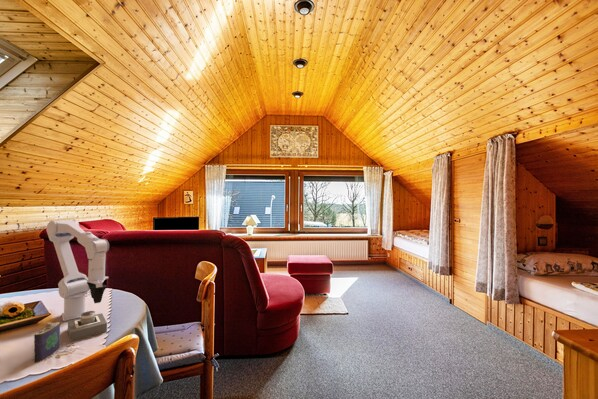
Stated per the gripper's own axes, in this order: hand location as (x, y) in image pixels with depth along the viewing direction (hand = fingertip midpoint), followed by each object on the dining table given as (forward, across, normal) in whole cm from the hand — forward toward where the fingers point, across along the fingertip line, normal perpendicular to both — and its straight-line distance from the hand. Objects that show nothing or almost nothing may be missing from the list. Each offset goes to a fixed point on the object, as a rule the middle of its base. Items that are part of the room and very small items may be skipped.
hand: (96, 300), depth 112 cm
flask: (+10, -18, +15) cm, 25 cm away
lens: (+9, -7, +3) cm, 12 cm away
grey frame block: (+9, -7, +4) cm, 12 cm away
